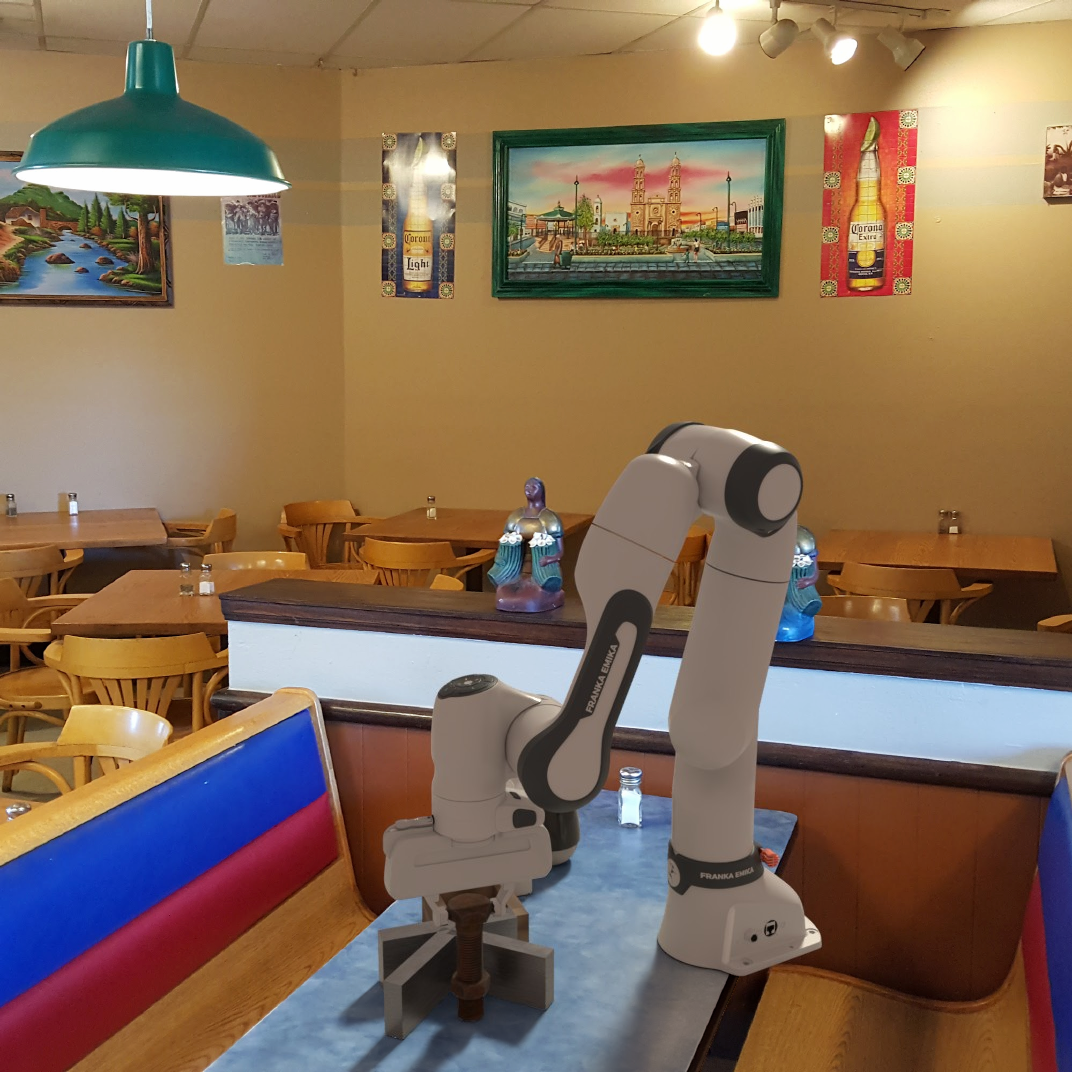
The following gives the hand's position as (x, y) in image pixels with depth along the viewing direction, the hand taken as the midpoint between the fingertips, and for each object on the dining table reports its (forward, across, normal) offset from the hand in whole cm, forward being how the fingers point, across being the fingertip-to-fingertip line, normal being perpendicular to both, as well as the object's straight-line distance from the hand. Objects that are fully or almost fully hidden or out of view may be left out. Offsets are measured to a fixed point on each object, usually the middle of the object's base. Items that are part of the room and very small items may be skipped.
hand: (469, 919), depth 136 cm
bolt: (+13, 0, 0) cm, 13 cm away
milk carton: (+13, +14, +31) cm, 37 cm away
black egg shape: (+13, +24, +38) cm, 47 cm away
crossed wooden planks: (+13, 0, +5) cm, 14 cm away
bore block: (+13, +6, +19) cm, 24 cm away
